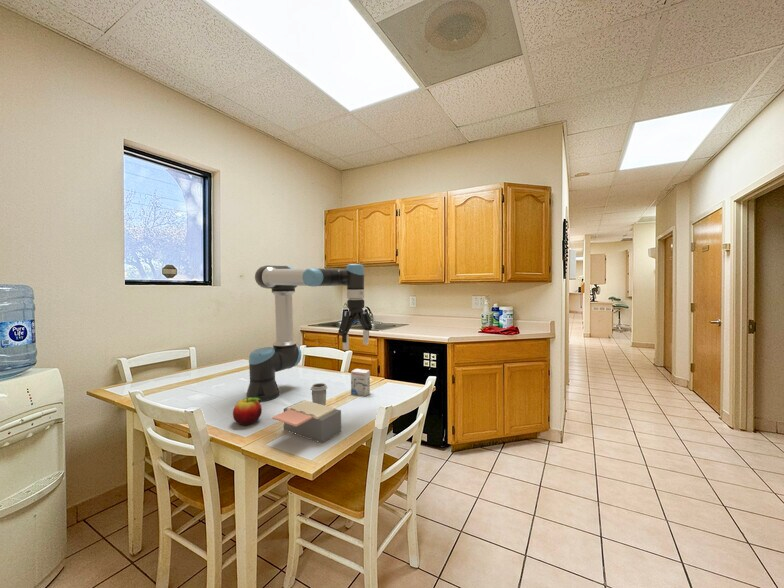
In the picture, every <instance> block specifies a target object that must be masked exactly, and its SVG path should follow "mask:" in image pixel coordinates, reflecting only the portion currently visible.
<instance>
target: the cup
mask: <svg viewBox="0 0 784 588" xmlns="http://www.w3.org/2000/svg"><path fill="white" fill-rule="evenodd" d="M327 389H328V386H327V384H326V383H324V382H318V383H313V384H312V385H311V387H310V391H311V400H312V401H311V402H313V403H317V404H321V405H325V406H326V405H327Z"/></svg>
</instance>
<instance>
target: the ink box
mask: <svg viewBox="0 0 784 588" xmlns="http://www.w3.org/2000/svg"><path fill="white" fill-rule="evenodd" d="M370 385H371V371H370V370H369V369H363V368H354V369H353V370H351V371H350V394H351V395H357V396H363V397H367V396H368V395H369V394H370V393H371V392H370V390H371V386H370Z"/></svg>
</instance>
